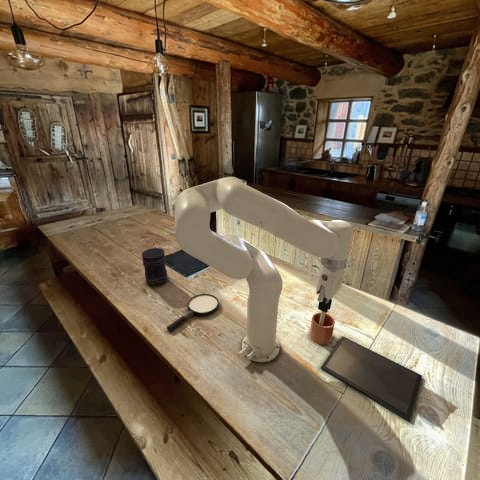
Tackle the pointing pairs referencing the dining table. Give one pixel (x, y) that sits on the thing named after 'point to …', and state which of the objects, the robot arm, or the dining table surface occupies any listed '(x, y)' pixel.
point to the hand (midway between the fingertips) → (324, 308)
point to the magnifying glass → (197, 308)
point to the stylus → (322, 317)
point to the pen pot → (322, 329)
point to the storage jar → (154, 267)
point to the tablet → (374, 376)
